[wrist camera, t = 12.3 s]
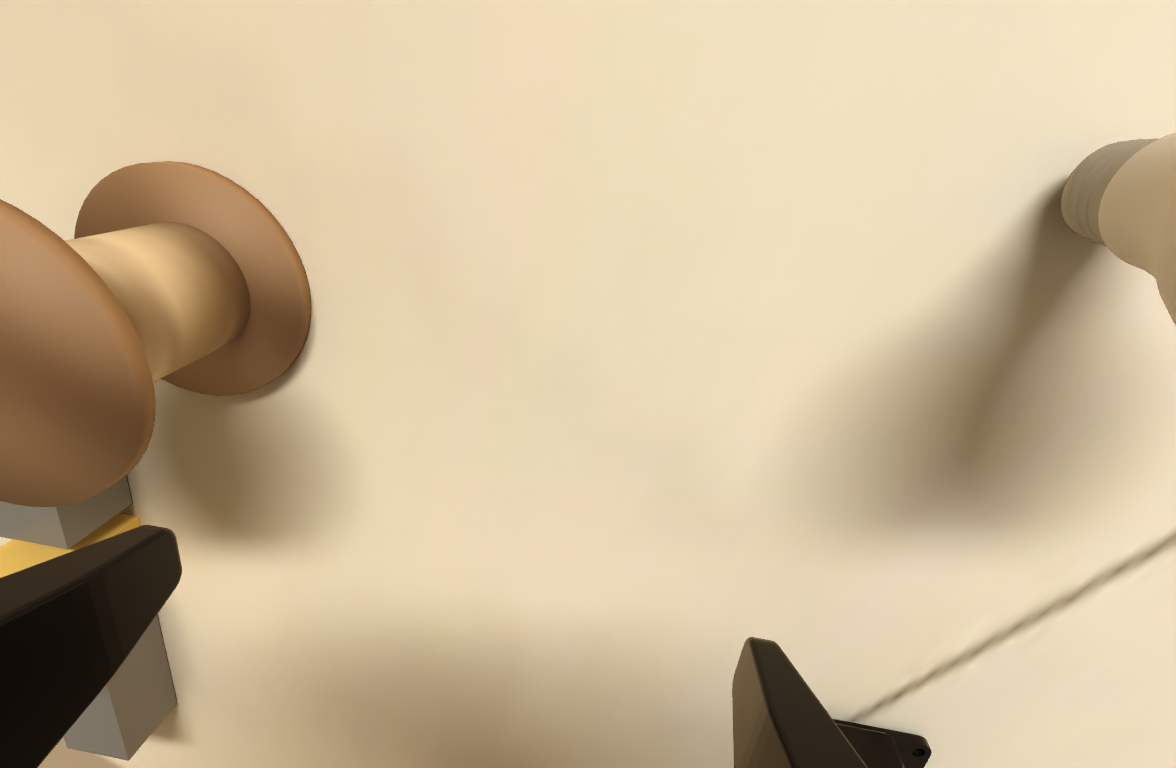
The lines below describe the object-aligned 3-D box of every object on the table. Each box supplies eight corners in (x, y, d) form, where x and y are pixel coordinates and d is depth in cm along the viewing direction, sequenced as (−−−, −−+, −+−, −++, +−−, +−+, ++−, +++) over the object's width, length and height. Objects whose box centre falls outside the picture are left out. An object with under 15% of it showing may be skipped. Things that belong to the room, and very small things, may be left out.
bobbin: (317, 404, 22) (160, 531, 15) (114, 370, 23) (-128, 478, 16) (303, 180, 19) (96, 212, 12) (66, 144, 19) (-265, 156, 12)
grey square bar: (176, 703, 30) (128, 760, 28) (120, 692, 30) (67, 747, 28) (99, 354, 22) (20, 386, 20) (24, 341, 23) (-64, 371, 20)
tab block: (154, 588, 27) (16, 714, 21) (88, 575, 27) (-67, 697, 22) (139, 516, 26) (-16, 632, 20) (68, 503, 26) (-106, 614, 20)
